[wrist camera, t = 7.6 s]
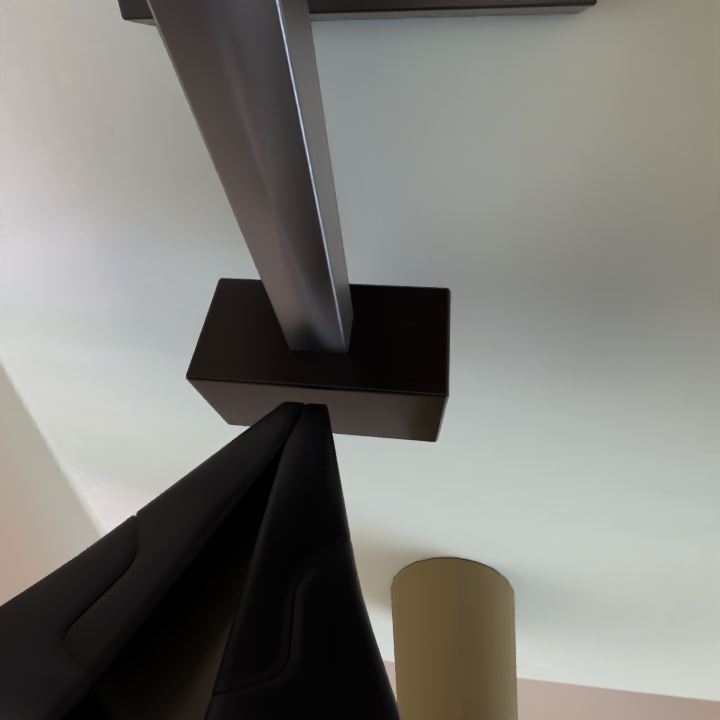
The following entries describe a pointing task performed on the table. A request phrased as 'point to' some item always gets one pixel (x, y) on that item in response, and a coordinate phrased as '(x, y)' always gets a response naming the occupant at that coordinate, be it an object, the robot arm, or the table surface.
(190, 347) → the table surface
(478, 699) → the cork
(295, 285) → the lever
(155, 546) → the robot arm
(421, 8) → the toaster
